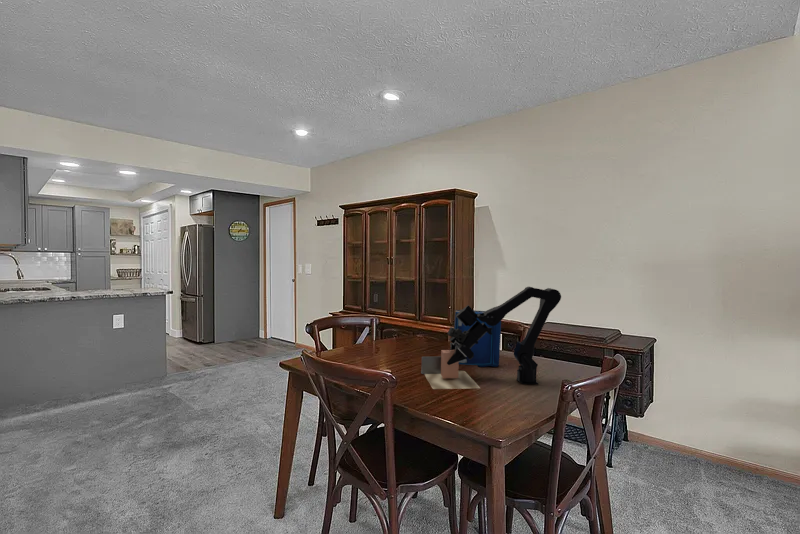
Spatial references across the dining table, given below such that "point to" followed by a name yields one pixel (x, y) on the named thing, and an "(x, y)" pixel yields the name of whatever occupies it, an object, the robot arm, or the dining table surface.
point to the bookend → (431, 365)
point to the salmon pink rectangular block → (446, 369)
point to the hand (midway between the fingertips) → (446, 362)
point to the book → (482, 344)
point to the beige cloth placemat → (451, 381)
